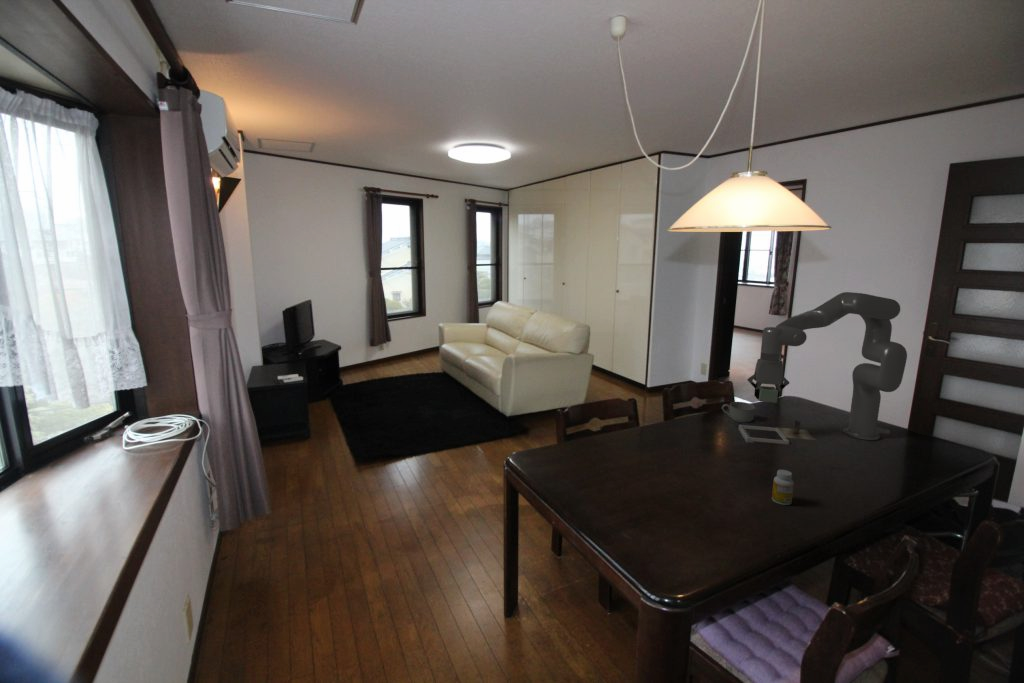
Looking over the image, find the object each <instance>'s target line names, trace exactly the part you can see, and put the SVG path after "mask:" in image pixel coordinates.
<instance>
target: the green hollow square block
mask: <svg viewBox="0 0 1024 683" xmlns="http://www.w3.org/2000/svg"><path fill="white" fill-rule="evenodd" d="M759 390H760V393H759V399H757V400H758V402H764V403H775V404H776V403H778V400H777V398H778V390H777V389H776V387H774V386H764V385H761V386H760V387H759ZM778 399H779V398H778Z"/></svg>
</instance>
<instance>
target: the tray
mask: <svg viewBox="0 0 1024 683" xmlns="http://www.w3.org/2000/svg"><path fill="white" fill-rule="evenodd" d="M778 428H779V427H778ZM778 428H777V427H771V426H770V427H769V426H760V425H759V426H758V425H748V424H747V425H746V424H745V425H744V424H738V431H739V433H740V435H741V436H742V437H743V439H744V440H745V442H746V443H747V444H755V442H758V443H769V444H770V443H771V444H781V445H790V440H789V438H786V437H785V436H784V435H783V433H782V432H781V431H780V430H779V429H778ZM746 429H747V430H757V431H758V430H760V431H770V432H776V433H777V434H778V436H779V437H781V439H773V438H762V437H752V436H750V434H749V432H748V431H747V430H746Z"/></svg>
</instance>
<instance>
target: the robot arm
mask: <svg viewBox="0 0 1024 683" xmlns="http://www.w3.org/2000/svg"><path fill="white" fill-rule="evenodd" d="M900 312H901V304H900V303H899V302H898V301H896V300H895V299H894V298H888V297H883V296H878V295H872V294H867V293H861V292H852V291H851V292H850V291H846V292H840V293H839V294H837V295H835V296H833V297H832V298H830V299H829V300H827V301H825V302H824V303H822V304H820V305H818V306H817V307H815V308H814V309H810V310H807V311H805V312H804V311H803V312H802V313H799V314H796V315H793V316H791V317H789V318H786V319H785V320H783V321H782V322H780V323H779V324H777V325H776V326H775V327H773V326H767V327H765V328H763V330H762V334H761V335H762V337H761V346H760V347H761V348H760V356H759V358H758V359H757V360H756V363H755V367H754V374H753V375H751V376H750V377H749V378H747V379H746V380H747V382H748V383H749V384H750V385H751V386H752V387H753V388H754V394H753V395H754V397H755V398H756V400H758V399H759V393H760V390H759V387H760V386H762V385H773V386H775V387H774V388H775V389H777V390H778V398H777V401H778V400H779V398H780V393H781V391H782V390H783V389H785V387H786V386H788V385H789V384H790V383H791V382H790V381H789V380H788V379H787V378H786V377H785V376H784V363H783V361H782V360H783V359H786V355H785V354H782V353H783V346H789V347H799V346H802V345H803V344H805V342H806V341H807V339H808V336H807V333H806V332H805V331H806V330H810V329H820V328H827V327H828V326H831V325H832V324H833V323H835V322H837V321H838V320H840V319H842V318H843V317H845V316H847V315H849V314H851V315H859V316H860V317H861V318H862V320H863V321H864V324H865V330H864V337H863V342H862V346H861V356H862V357H863V358H864V359H866V360H868V361H871V362H874V363H879V364H880V365H877V364H873V363H869V362H867V363H866V362H863V363H860V364H857V365H856V366H854V368H853V370H852V374H851V377H852V385H853V386H852V396H851V403H850V409H849V410H850V411H849V419H848V426H847V427H845V428H843V431H842V433H844V434H845V435H847V437H851V438H854V439H859V440H864V441H877V440H880V439H881V434H884V435H889V434H890V432H891V431H890V430H889V429H886V428H885V429H884V428H883V427H878V426H877V425H878V418H879V413H880V406H881V401H882V400H881V398H882V397H881V392H885V393H892V392H895V391H896V390H898V389H899V387H900V386H901V384H902V382H903V378H904V372H905V368H906V364H907V360H908V353H907V350H906V347H905V346H904V345H902V344H901V343H899V342H894V341H892V340H891V336H892V330H893V325H892V322H891V320H893V319H895V318H896V317H897V316H899V314H900ZM804 330H805V331H804ZM753 380H754V381H755V382H754V381H753ZM880 391H881V392H880Z"/></svg>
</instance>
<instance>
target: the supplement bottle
mask: <svg viewBox="0 0 1024 683" xmlns="http://www.w3.org/2000/svg"><path fill="white" fill-rule="evenodd" d="M792 478H793V473H792V472H791V471H789V470H786V469H777V472H776V476H774V478H773V482H772V493H771V494H772V495H771V500H772V501H773V502H774V503H776V504H778V505H783V506H788V505H791V504H792V501H793V495H794V494H793V493H794V485H795V483H794V480H793V479H792Z"/></svg>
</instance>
